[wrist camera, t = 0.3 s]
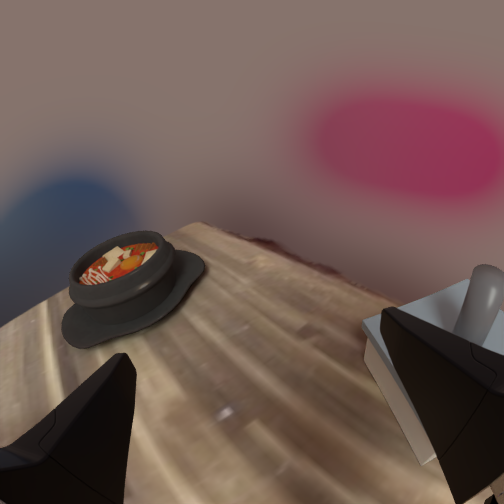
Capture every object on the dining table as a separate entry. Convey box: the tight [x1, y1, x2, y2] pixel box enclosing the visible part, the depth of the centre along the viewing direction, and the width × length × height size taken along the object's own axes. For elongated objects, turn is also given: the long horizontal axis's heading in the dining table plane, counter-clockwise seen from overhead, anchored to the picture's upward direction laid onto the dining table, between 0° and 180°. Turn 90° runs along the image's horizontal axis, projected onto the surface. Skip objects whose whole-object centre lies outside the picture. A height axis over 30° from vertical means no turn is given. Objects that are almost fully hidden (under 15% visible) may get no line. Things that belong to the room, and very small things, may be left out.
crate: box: [364, 338, 437, 465], centre depth 20 cm, size 13×13×4 cm
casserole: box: [61, 231, 205, 349], centre depth 39 cm, size 25×19×8 cm
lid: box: [362, 264, 504, 435], centre depth 17 cm, size 14×14×9 cm
